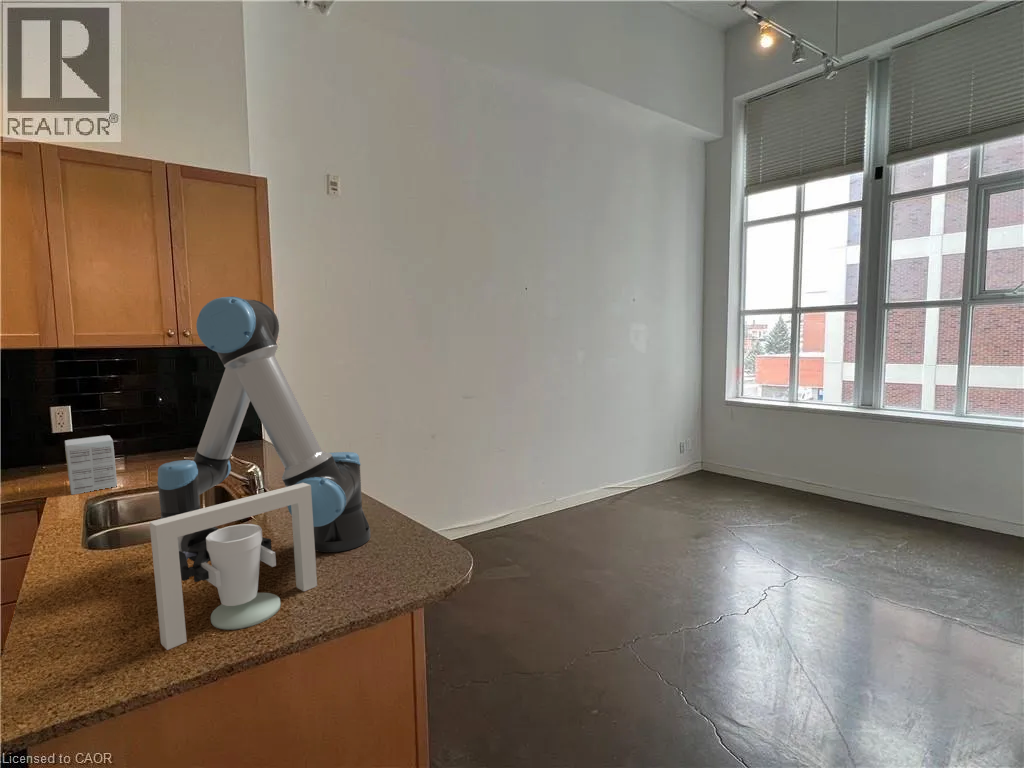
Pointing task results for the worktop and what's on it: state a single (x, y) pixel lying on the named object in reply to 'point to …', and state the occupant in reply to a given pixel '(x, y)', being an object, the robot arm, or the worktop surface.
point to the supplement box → (90, 464)
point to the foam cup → (236, 561)
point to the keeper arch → (201, 519)
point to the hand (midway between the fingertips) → (247, 569)
